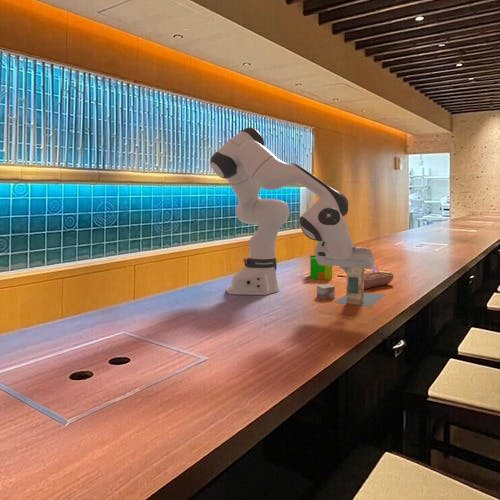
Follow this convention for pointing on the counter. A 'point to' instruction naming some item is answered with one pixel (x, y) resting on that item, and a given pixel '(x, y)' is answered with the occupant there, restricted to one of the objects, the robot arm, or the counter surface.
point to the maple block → (355, 286)
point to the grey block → (325, 291)
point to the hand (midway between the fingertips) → (349, 271)
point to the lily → (373, 269)
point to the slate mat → (368, 299)
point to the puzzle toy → (319, 270)
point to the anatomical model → (377, 279)
